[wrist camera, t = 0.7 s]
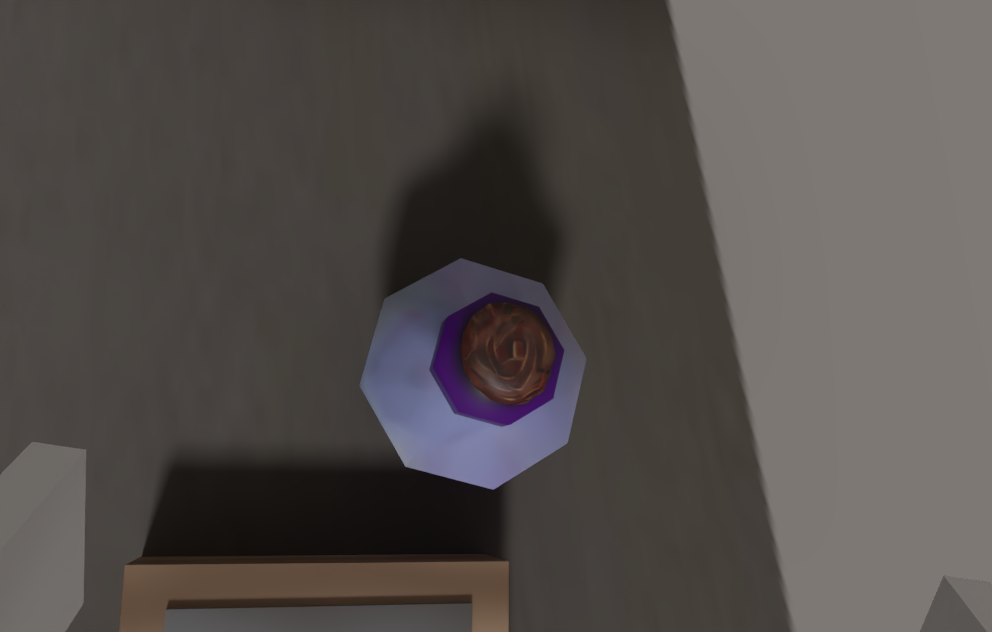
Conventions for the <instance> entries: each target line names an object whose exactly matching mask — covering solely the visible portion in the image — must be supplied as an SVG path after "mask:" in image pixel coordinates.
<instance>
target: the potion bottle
mask: <svg viewBox="0 0 992 632" xmlns="http://www.w3.org/2000/svg"><path fill="white" fill-rule="evenodd" d="M585 363H586V357H585V355H584V353H583V352H582V350H581V348H580V347H579V345H578V343H577V341H576V340H575V338H574V336H573V334H572V333H571V331H570V329H569V328H568V326H567V324H566V322H565V321H564V319H563V317H562V316H561V314H560V312H559V310H558V309H557V307H556V305H555V303H554V302H553V300H552V298H551V297H550V295H549V293H548V291H547V290H546V288H545V286H544V285H543V283H540V282H536V281H533V280H530V279H527V278H523V277H520V276H517V275H514V274H510V273H507V272H504V271H501V270H497V269H494V268H491V267H488V266H484V265H481V264H478V263H475V262H472V261H468V260H465V259H462V258H460V259H458V260H456V261H455V262H453V263H451V264H449V265H447V266H445V267H443V268H441V269H439V270H438V271H436V272H434V273H432V274H430V275H428V276H426V277H424V278H422V279H421V280H419V281H417V282H415V283H413V284H411V285H409V286H407V287H405V288H404V289H402V290H400V291H398V292H396V293H394V294H392V295H390V296H388V297H387V298H385V299H384V301H383V305H382V308H381V312H380V315H379V319H378V322H377V326H376V330H375V333H374V337H373V340H372V344H371V347H370V351H369V354H368V358H367V361H366V365H365V368H364V372H363V375H362V379H361V382H360V387H361V389H362V391H363V393H364V394H365V396H366V398H367V400H368V402H369V403H370V405H371V407H372V409H373V410H374V412H375V414H376V416H377V417H378V419H379V421H380V423H381V424H382V426H383V428H384V430H385V431H386V433H387V435H388V437H389V439H390V440H391V442H392V444H393V446H394V447H395V449H396V451H397V453H398V454H399V456H400V458H401V460H402V461H403V463H404V465H405V467H409V468H412V469H416V470H420V471H424V472H428V473H432V474H435V475H439V476H443V477H447V478H451V479H454V480H458V481H462V482H466V483H470V484H474V485H477V486H481V487H485V488H489V489H493V490H494V489H495V488H497V487H498V486H500V485H502V484H503V483H505V482H506V481H508V480H510V479H511V478H513V477H514V476H516V475H518V474H519V473H521V472H522V471H524V470H526V469H527V468H529V467H530V466H532V465H534V464H535V463H537V462H538V461H540V460H541V459H543V458H545V457H546V456H548V455H549V454H551V453H553V452H554V451H556V450H557V449H559V448H561V447H562V446H564V445H565V444H567V443H568V439H569V434H570V430H571V425H572V421H573V416H574V412H575V407H576V403H577V399H578V394H579V390H580V385H581V381H582V376H583V372H584V367H585Z"/></svg>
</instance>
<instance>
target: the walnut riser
mask: <svg viewBox="0 0 992 632" xmlns="http://www.w3.org/2000/svg"><path fill="white" fill-rule="evenodd" d="M508 628H509V561H506V560H503V559H500V558H497V557H494V556H491V555H488V554H410V555H277V556H144V557H140V558H138V559H136V560H134V561H132V562H130V563H128V564H126V565H125V571H124V583H123V594H122V606H121V618H120V629H119V632H508Z"/></svg>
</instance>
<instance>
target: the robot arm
mask: <svg viewBox="0 0 992 632" xmlns="http://www.w3.org/2000/svg"><path fill="white" fill-rule="evenodd" d="M85 485H86V450H84V449H77V448H70V447H64V446H57V445H50V444H43V443H36V442H32V443H31V444H30V445H29V446H28V447H27V448H26V449H25V450H24V451H23V452H22V453H21V454H20V455H19V456H18V457H17V458H16V459H15V460H14V461H13V462H12V463H11V464H10V465H9V466H8V467H7V468H6V469H5V470H4V471H3V472H2V473H1V474H0V632H65V631H66V630H67V628H68V627H69V625H70V624H71V622H72V620H73V619H74V617H75V616H76V614H77V613H78V611H79V610H80V608H81V607H82V605H83V601H84V543H85ZM920 632H992V584H991V583H990V582H985V581H978V580H970V579H964V578H957V577H951V576H943V578H942V581H941V583H940V586H939V588H938V590H937V592H936V595H935V597H934V600H933V602H932V604H931V607H930V609H929V611H928V614H927V616H926V618H925V621H924V623H923V625H922V628H921V630H920Z"/></svg>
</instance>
